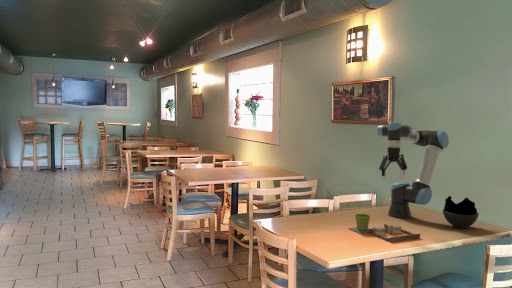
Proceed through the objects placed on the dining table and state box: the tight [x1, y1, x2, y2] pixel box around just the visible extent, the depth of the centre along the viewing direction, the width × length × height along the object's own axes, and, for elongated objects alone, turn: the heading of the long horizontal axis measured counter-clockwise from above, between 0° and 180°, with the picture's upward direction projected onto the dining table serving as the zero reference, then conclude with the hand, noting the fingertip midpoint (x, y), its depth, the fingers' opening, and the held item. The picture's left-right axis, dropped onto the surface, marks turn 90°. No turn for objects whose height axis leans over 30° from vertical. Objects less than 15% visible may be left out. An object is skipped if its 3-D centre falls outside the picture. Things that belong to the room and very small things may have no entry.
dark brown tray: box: [367, 228, 421, 243], centre depth 234 cm, size 19×21×2 cm
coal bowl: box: [442, 195, 480, 229], centre depth 253 cm, size 20×20×19 cm
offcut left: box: [372, 225, 386, 236], centre depth 238 cm, size 4×6×4 cm, turn 117°
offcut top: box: [383, 223, 394, 235], centre depth 240 cm, size 4×5×3 cm
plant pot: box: [354, 213, 372, 231], centre depth 245 cm, size 9×9×9 cm
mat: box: [348, 226, 371, 235], centre depth 245 cm, size 12×12×1 cm
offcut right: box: [392, 224, 402, 235], centre depth 242 cm, size 4×6×4 cm, turn 110°
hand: (392, 180), depth 254 cm, fingers open, 13 cm apart
